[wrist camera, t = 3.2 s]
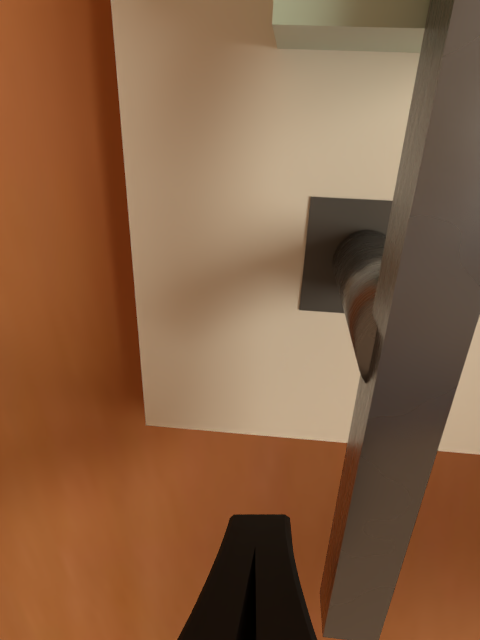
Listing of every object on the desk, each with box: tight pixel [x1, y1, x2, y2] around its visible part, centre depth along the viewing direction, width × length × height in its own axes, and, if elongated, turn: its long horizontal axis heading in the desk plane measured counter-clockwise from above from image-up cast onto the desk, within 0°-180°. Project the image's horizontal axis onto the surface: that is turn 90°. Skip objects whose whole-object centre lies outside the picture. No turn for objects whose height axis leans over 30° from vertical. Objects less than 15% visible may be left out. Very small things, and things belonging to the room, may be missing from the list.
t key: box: [320, 0, 480, 640], centre depth 9 cm, size 2×13×5 cm, turn 178°
